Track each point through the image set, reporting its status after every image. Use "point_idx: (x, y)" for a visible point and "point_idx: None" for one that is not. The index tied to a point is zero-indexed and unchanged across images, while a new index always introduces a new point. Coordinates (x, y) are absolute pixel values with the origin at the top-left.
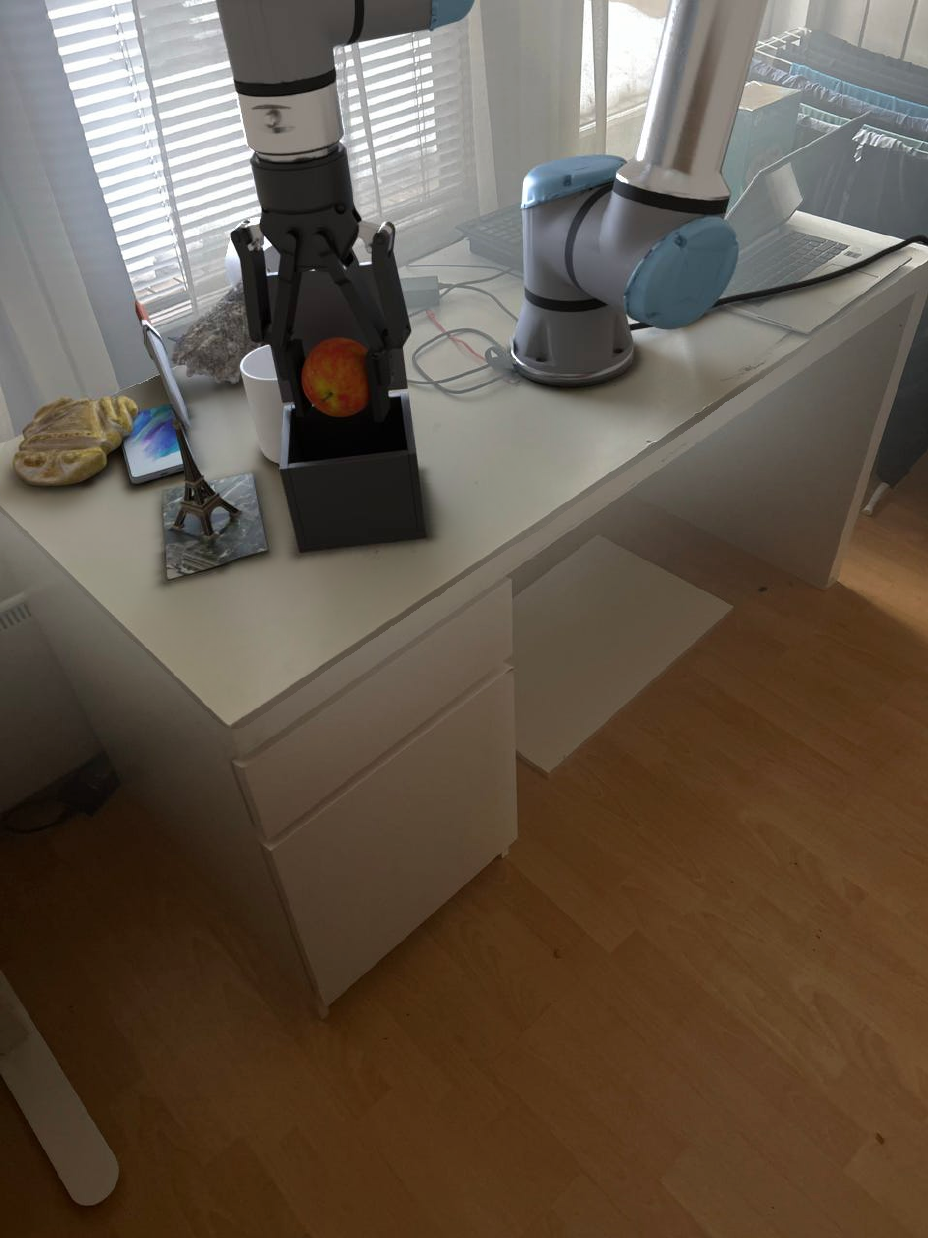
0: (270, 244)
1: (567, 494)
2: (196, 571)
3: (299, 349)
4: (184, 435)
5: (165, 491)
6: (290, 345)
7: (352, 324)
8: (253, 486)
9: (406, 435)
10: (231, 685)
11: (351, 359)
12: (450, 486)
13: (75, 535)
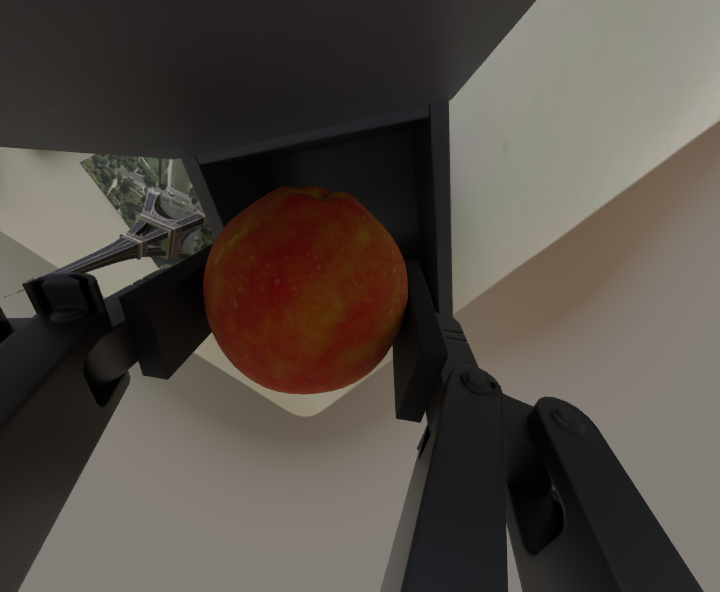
0: None
1: (626, 182)
2: None
3: (170, 314)
4: None
5: (86, 166)
6: (139, 340)
7: (286, 61)
8: None
9: (438, 277)
10: (295, 401)
11: (351, 379)
12: (466, 155)
13: (51, 240)
